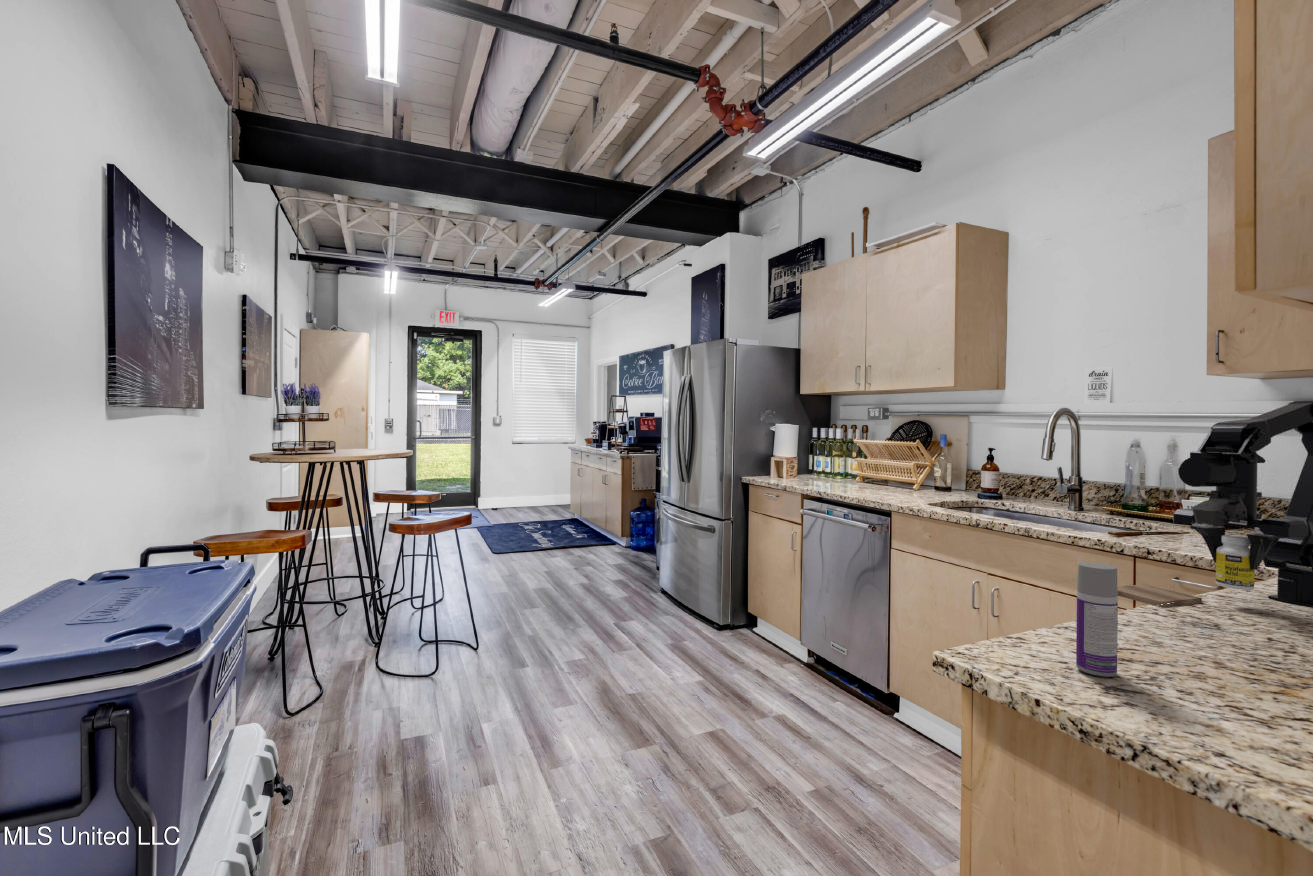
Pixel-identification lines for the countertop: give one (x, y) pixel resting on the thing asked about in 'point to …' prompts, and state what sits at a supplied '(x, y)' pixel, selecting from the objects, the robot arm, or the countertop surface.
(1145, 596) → the riser
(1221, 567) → the supplement bottle
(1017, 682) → the countertop surface
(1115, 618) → the container
